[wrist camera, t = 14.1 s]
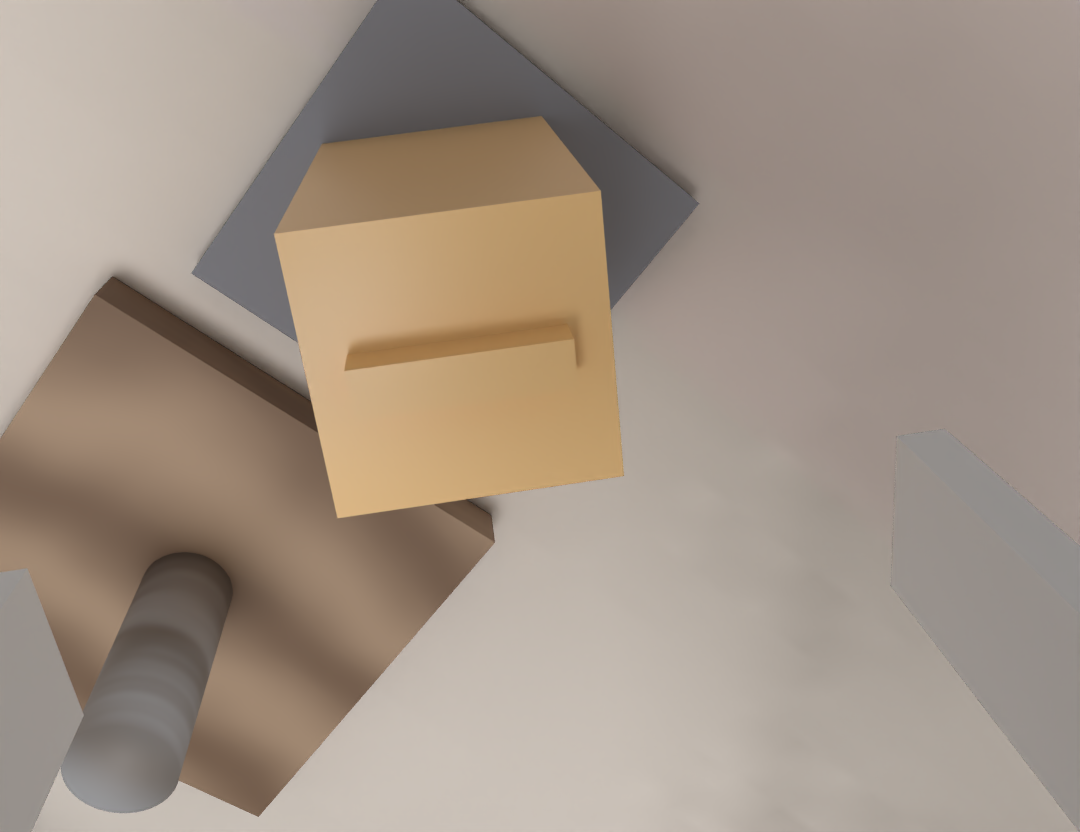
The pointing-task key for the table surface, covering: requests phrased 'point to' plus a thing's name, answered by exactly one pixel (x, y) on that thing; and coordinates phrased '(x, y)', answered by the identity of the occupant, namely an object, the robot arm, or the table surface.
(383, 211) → the tan tall block
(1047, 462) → the table surface
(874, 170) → the table surface
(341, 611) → the wooden base with post
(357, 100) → the pad
